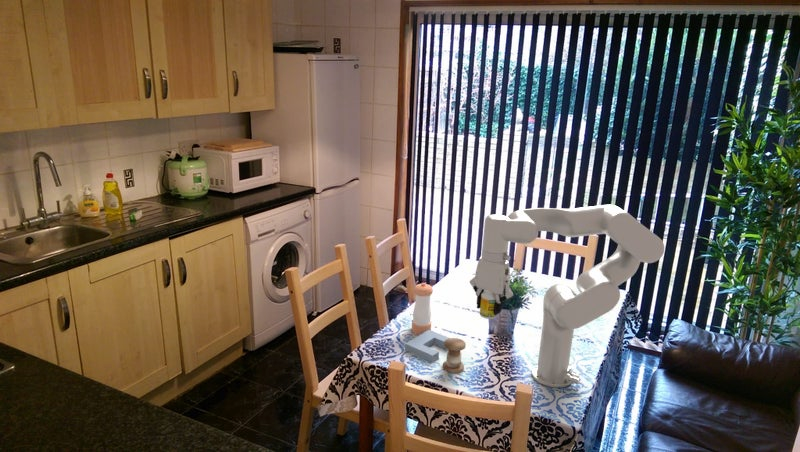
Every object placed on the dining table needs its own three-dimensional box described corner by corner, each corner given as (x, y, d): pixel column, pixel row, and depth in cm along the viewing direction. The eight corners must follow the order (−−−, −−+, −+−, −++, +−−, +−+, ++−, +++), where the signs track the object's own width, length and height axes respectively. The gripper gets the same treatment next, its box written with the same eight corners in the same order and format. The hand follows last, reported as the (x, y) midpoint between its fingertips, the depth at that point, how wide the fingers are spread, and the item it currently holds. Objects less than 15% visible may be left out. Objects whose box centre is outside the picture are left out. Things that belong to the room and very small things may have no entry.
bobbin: (467, 367, 179) (469, 342, 177) (456, 375, 174) (457, 350, 171) (450, 359, 183) (452, 335, 181) (438, 367, 178) (440, 343, 176)
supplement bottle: (488, 310, 172) (491, 282, 169) (500, 317, 168) (503, 288, 165) (475, 313, 169) (478, 285, 166) (487, 320, 165) (490, 292, 162)
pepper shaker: (429, 336, 199) (432, 288, 193) (409, 333, 200) (412, 285, 195) (432, 327, 206) (434, 280, 200) (413, 324, 207) (415, 278, 202)
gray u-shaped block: (455, 346, 192) (456, 340, 191) (432, 362, 181) (432, 355, 181) (428, 335, 199) (428, 329, 198) (404, 349, 189) (405, 343, 188)
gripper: (525, 260, 160) (519, 315, 165) (477, 245, 171) (472, 298, 176) (513, 266, 155) (506, 323, 160) (463, 251, 165) (459, 305, 170)
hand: (488, 309), depth 168 cm, fingers closed on supplement bottle, 5 cm apart
